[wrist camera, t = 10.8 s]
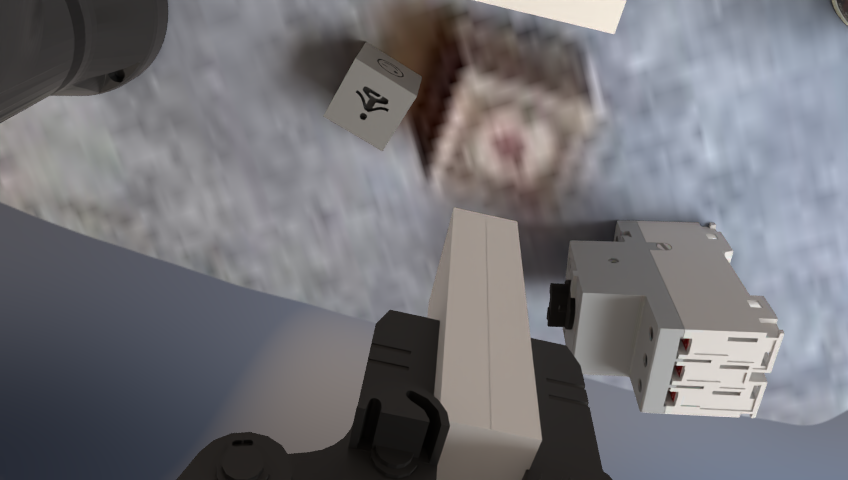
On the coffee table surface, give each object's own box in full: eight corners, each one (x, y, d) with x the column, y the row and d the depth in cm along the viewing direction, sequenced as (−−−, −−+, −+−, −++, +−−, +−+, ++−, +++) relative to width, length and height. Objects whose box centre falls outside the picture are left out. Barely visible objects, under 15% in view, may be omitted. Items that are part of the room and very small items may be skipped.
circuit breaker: (544, 217, 55) (564, 324, 42) (714, 222, 54) (788, 333, 41) (537, 289, 59) (553, 408, 46) (696, 295, 58) (758, 418, 45)
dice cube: (422, 76, 50) (416, 96, 46) (390, 128, 52) (382, 151, 48) (366, 41, 49) (355, 58, 45) (336, 95, 51) (323, 116, 47)
